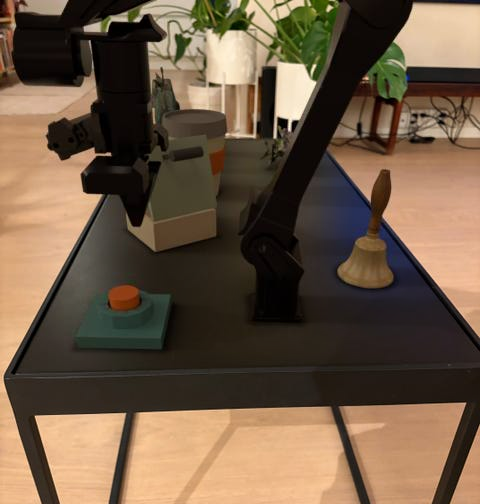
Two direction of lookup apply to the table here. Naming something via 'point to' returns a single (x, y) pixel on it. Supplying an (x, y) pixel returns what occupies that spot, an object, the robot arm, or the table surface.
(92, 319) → the control box
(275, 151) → the passion flower
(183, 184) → the lid
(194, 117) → the reusable coffee cup
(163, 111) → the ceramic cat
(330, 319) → the table surface
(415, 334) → the table surface
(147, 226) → the shallow tan tray
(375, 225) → the hand bell
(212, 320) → the table surface
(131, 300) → the button
